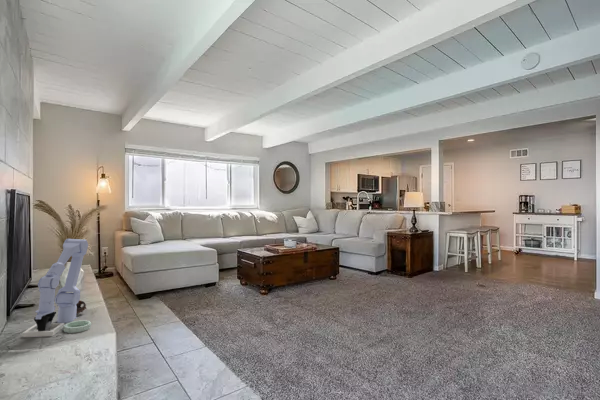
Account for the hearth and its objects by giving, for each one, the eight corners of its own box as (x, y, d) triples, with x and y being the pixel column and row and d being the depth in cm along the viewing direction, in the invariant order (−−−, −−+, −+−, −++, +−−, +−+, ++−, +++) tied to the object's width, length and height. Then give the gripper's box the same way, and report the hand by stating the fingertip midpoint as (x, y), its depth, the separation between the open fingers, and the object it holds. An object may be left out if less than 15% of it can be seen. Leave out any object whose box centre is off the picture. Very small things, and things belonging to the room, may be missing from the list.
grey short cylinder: (40, 330, 154) (41, 321, 155) (51, 329, 156) (52, 320, 156) (35, 333, 150) (36, 324, 150) (47, 333, 151) (48, 323, 151)
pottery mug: (88, 311, 190) (90, 301, 187) (79, 323, 182) (80, 312, 179) (67, 306, 188) (69, 295, 185) (56, 317, 180) (58, 306, 177)
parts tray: (35, 329, 157) (36, 323, 157) (63, 328, 160) (64, 322, 160) (21, 338, 145) (22, 332, 145) (52, 337, 149) (53, 331, 149)
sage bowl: (69, 326, 163) (69, 320, 163) (93, 325, 166) (94, 320, 166) (59, 334, 152) (60, 328, 152) (85, 333, 155) (86, 327, 155)
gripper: (44, 297, 159) (41, 325, 159) (28, 305, 145) (25, 335, 145) (61, 297, 161) (58, 324, 161) (47, 305, 147) (44, 335, 147)
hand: (44, 329), depth 153 cm, fingers closed on grey short cylinder, 5 cm apart
